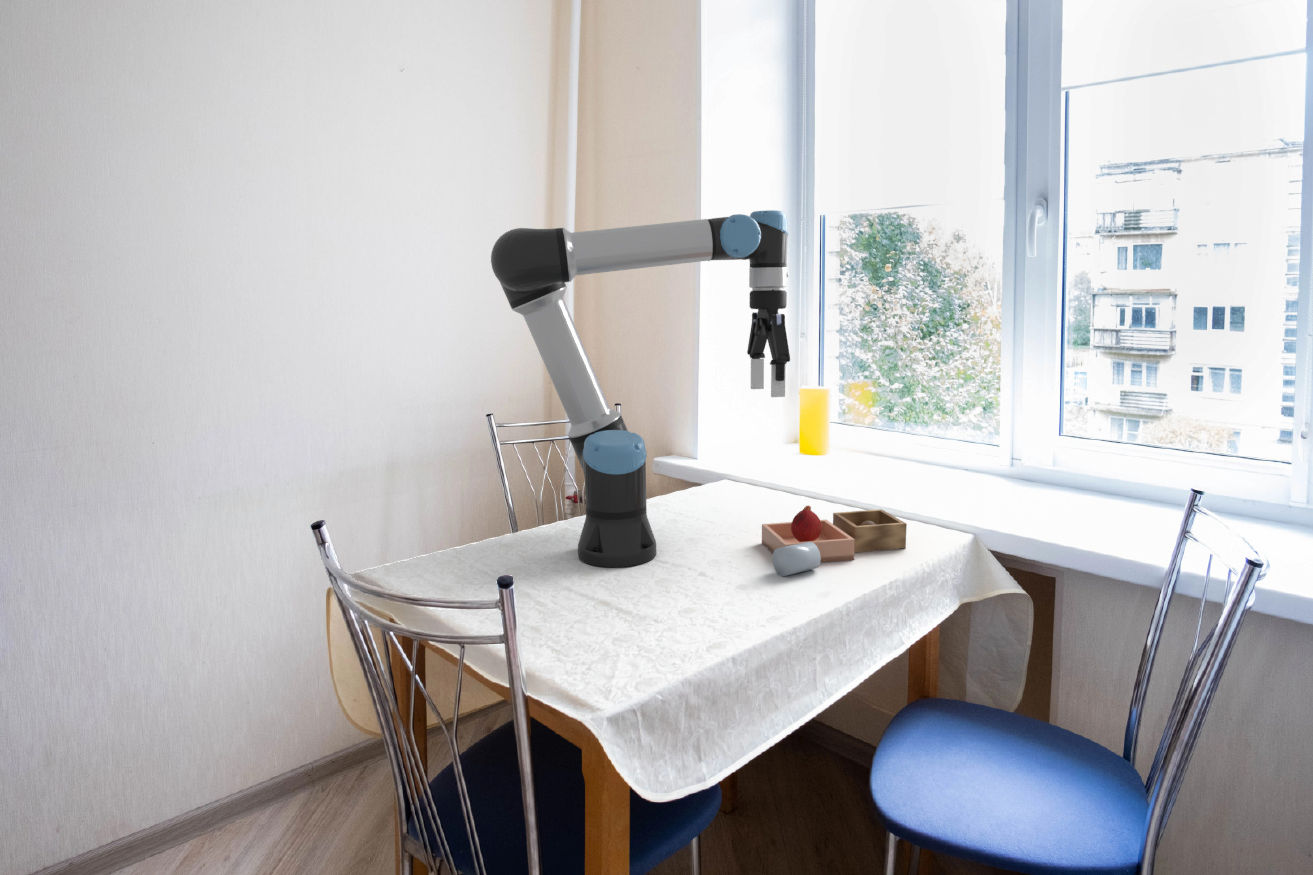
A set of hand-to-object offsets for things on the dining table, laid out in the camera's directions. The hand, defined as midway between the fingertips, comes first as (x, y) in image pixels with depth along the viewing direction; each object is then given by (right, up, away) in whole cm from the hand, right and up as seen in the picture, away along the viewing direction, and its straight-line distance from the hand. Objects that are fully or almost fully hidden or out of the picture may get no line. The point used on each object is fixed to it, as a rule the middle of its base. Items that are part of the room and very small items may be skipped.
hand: (767, 392), depth 171 cm
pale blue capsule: (+2, -33, -24) cm, 41 cm away
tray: (+6, -31, -12) cm, 34 cm away
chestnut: (+19, -30, -7) cm, 37 cm away
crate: (+19, -30, -7) cm, 37 cm away
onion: (+6, -30, -12) cm, 33 cm away
